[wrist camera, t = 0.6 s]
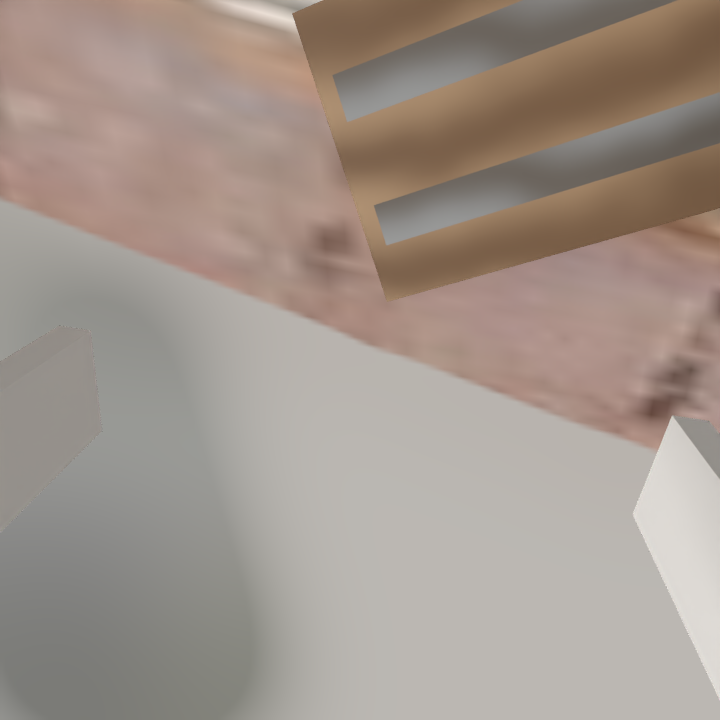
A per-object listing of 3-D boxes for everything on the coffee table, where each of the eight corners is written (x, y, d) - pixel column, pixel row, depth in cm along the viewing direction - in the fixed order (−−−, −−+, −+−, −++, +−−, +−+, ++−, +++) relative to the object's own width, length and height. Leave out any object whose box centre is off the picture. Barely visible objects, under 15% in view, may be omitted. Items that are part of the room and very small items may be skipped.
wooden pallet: (304, 21, 31) (292, 13, 29) (694, -144, 27) (723, -172, 24) (390, 287, 37) (387, 301, 34) (724, 191, 32) (750, 199, 29)
